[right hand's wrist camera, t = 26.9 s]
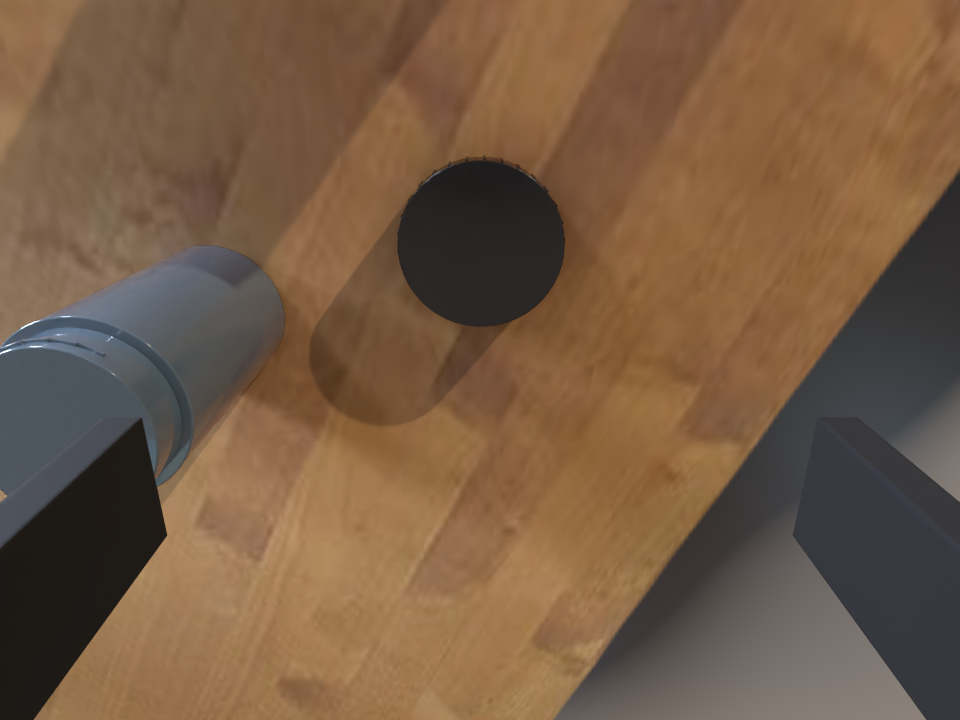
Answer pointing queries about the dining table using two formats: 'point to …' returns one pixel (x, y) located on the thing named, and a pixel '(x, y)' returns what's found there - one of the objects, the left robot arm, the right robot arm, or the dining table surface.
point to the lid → (481, 242)
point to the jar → (139, 360)
